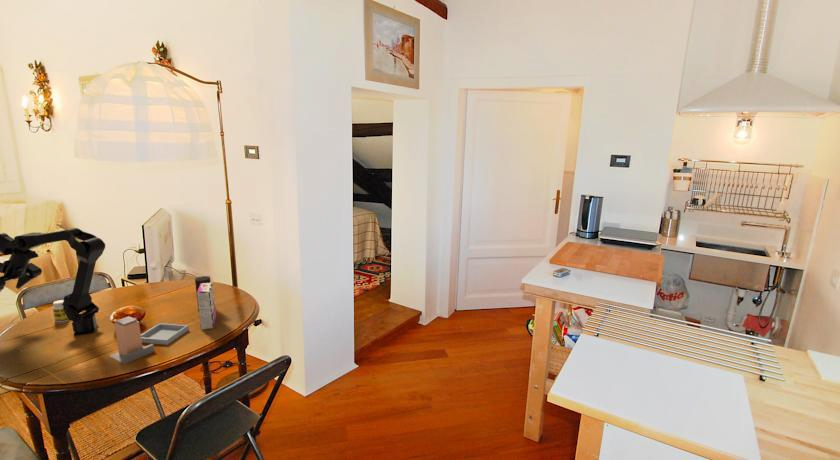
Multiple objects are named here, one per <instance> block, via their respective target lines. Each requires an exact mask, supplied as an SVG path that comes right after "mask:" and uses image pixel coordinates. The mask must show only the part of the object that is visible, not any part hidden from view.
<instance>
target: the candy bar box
mask: <svg viewBox="0 0 840 460" xmlns="http://www.w3.org/2000/svg"><path fill="white" fill-rule="evenodd" d="M197 299H198V304H197V308H198V307H199V311H198V314H199V324H200V330H202V331H203V330H204V331H205V330H211V329H214V328H215V324H216V320H217V310H216V302H215V301H216V300H215V294H214V284H213V282H211V281H210V283H201V284H200V286H199V289H198V291H197V294H196V300H197Z"/></svg>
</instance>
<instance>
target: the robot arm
mask: <svg viewBox="0 0 840 460" xmlns="http://www.w3.org/2000/svg"><path fill="white" fill-rule="evenodd" d="M77 239H78V240H80V241H78V240H77ZM62 241H65V242H68V245H69V247H70V248H71V249H73V250H74V251H75V253H76V257H77V258H78V260H79V262H78V266H77V271H76V274H75V280H74V284H73V287H72V289H73V290H72V292H71V293H69V294H67V295H64V297H63V300H64V302H63V304H62V306H63V305H64V306H63V310H64V312H65V314H66V316H67V317H68V319H69V320H68V321H70V322H71V325H72V330H73V336H79V335H86V334H94V333H95V332H96V331H97V330H98V328H99V324H98V323H97V319H96V314H97V313H99V311H100V310H99V309H100V307H99V306H98V305H96V304H95V303H94V302H93V301H92V298H93V297H92V295H91V294H90V293H89V292H90V289H91V285H92V279H93V275H94V271H95V267H96V263H97V261H98V259H99V258H100V257H101V256H103V253H104V250H105V249H106V243H105V241H103V239H101V238H100V237H97V236H96V235H94V234H92V233H89V232H86V231H83V230H81V229H80V228H78V227H72V228H71V227H70V228H66V229H63V230H58V231H57V230H56V231H51V232H46V233H45V232H29V233H25V234H21V235H16V236H14V237H11V236H10V235H9V234H7V233H6V232H2V233H0V254H2V255H3V256H0V274H3V275H1V276H0V293H1V292H2V291H3V290H4V288H5V286H6V284H7V282H9V281H13V280H17V282H16V285H15V289H17V290H19V289H21V288H22V287H24V286H25V285H27V284H28V283H30V281H31V282H32V281H33V280H34V279H36V278H38V276H41V275H42V272H43V270H42V267H41V268H40V267H39V266H37V265H36V264H34V263H33V262H31V260H34V259H36V258H38V257H39V254H38V253H37V252H36V251H35V250H32V249H35V248H38V247H42V246H44V245H45V244H51V243H56V242H62ZM9 255H10V257H5V256H9Z"/></svg>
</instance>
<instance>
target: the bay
mask: <svg viewBox="0 0 840 460" xmlns="http://www.w3.org/2000/svg"><path fill="white" fill-rule="evenodd" d="M142 347H143V348H140V349H138V350H135V351H133V352H130V353H128V354H125V355H123V356H122V355H120V354H119V351H118V352H115V353H113V354H110V355H109V357H110V358H112V359H115V361H118V362H120V363H121V364H123V365H125V364H128V363H130V362H132V361H136V360H137V359H140V358H143V357H145V356H147V355H149V354H151V353H154V352H155V344H147V345H146V346H144V345H142Z"/></svg>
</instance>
